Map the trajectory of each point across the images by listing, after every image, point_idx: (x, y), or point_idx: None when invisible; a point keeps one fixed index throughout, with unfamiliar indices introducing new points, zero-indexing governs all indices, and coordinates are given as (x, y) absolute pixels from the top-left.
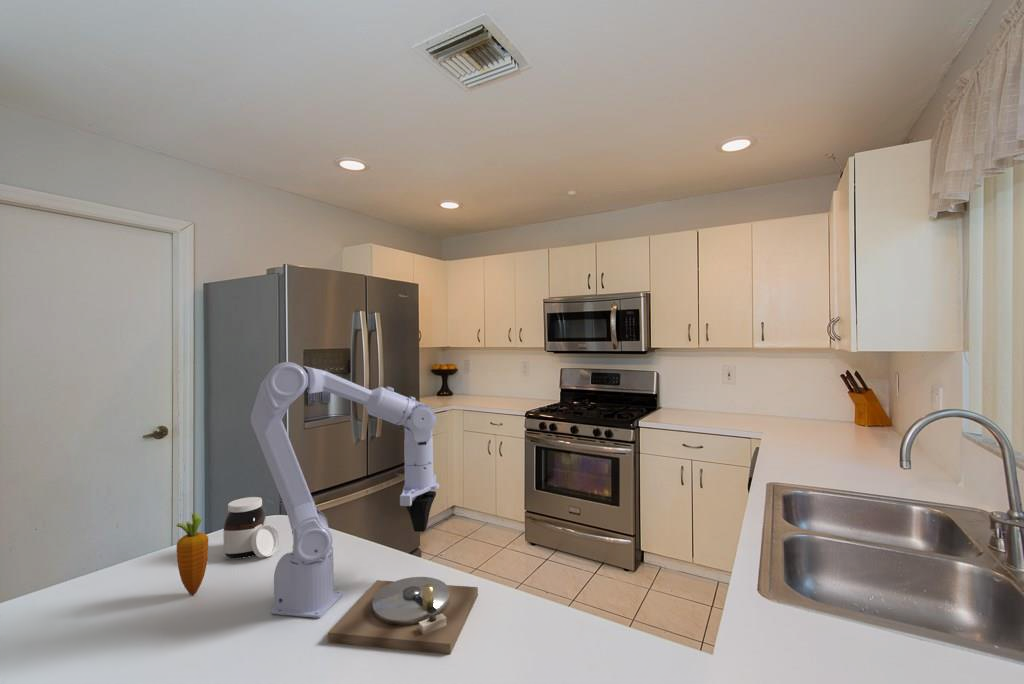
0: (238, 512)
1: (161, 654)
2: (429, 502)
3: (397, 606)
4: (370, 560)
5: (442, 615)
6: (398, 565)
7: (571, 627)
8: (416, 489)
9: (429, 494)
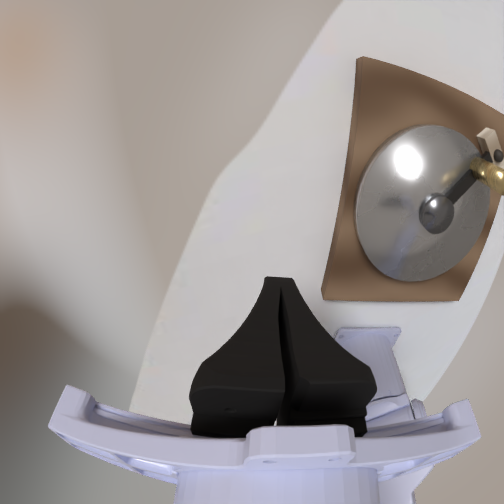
0: None
1: (411, 396)
2: (322, 363)
3: (461, 228)
4: (208, 331)
5: (489, 137)
6: (219, 280)
7: None
8: (378, 471)
9: (273, 405)
